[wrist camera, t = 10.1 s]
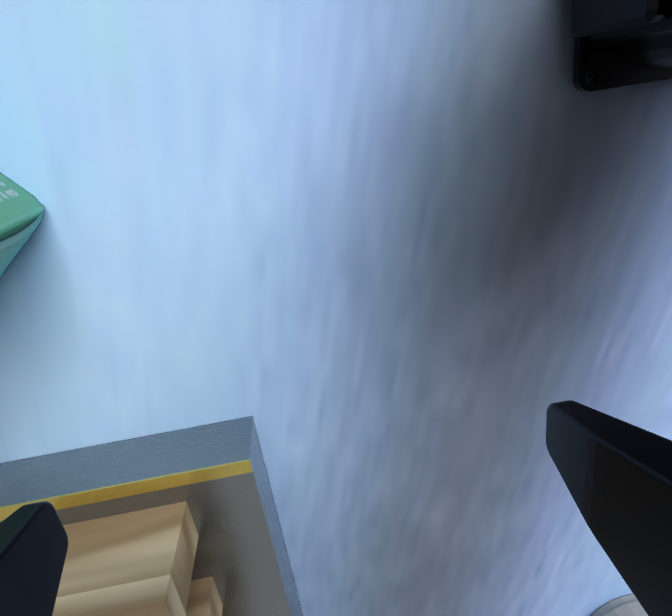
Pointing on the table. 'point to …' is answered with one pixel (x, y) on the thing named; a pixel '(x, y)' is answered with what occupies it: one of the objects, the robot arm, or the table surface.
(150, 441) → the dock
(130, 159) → the table surface
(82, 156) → the table surface
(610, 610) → the coffee cup
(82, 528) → the tan stepped block
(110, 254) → the table surface
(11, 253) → the box
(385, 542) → the table surface
